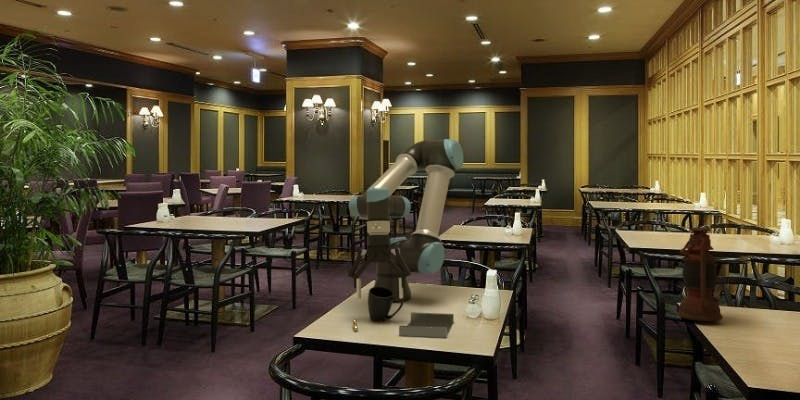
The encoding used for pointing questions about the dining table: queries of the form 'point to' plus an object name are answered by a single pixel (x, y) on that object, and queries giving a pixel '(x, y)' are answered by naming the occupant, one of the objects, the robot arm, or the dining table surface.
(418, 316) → the cradle
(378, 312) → the mug
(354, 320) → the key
